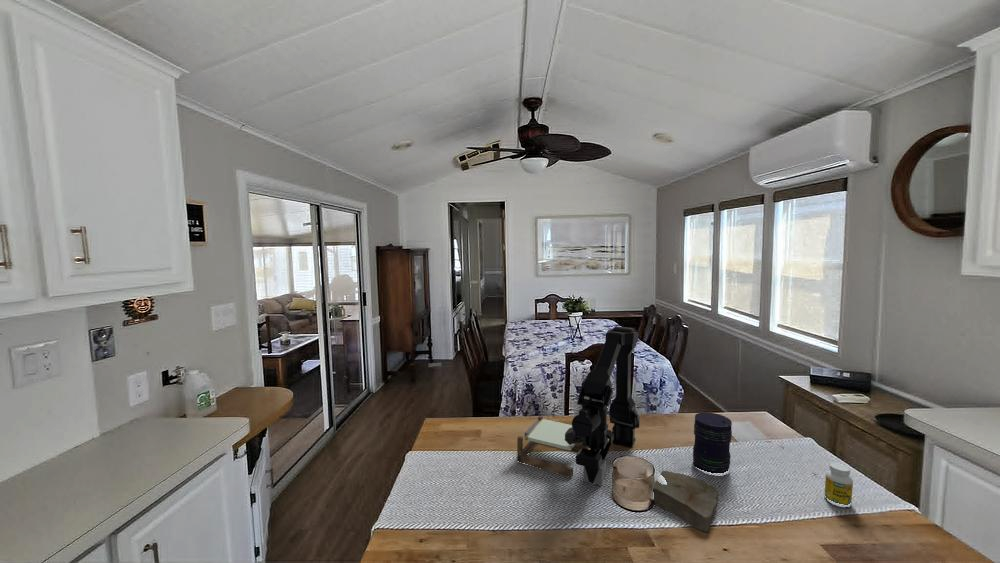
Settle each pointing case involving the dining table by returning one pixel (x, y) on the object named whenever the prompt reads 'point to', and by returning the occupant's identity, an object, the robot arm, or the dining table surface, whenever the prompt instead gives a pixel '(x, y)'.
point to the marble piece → (687, 499)
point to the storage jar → (712, 442)
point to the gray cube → (598, 474)
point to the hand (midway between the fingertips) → (595, 475)
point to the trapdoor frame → (543, 463)
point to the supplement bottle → (838, 484)
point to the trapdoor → (549, 434)
